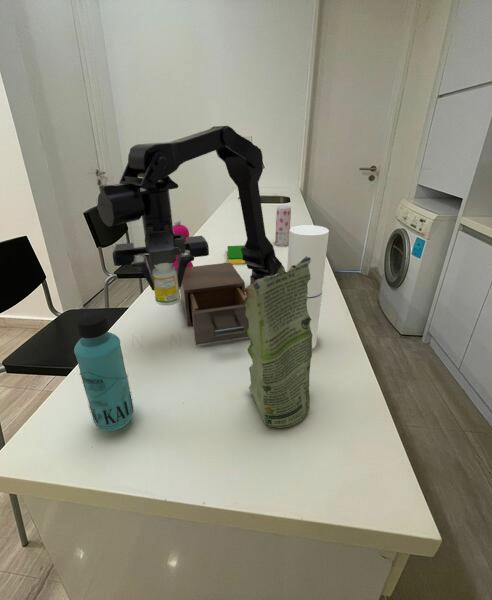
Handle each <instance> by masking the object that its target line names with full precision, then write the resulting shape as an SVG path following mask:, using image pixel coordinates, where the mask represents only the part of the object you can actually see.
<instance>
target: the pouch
mask: <svg viewBox="0 0 492 600" xmlns="http://www.w3.org/2000/svg"><path fill="white" fill-rule="evenodd" d="M310 261H311V258H310V257H309V258H308V257H307V256H306V257H305V258H304V259H302V260H301V261H300V262H299V263H298V264H297V265H293V266H291V268H290V269H289V271H288V272H287V270H286V269H285V266H284V265H283V264H282V266H281V268H280V269H279V271H278V272H277V273H276V274H275V275H274V276H264V277H263V278H260V279H257V280H255V281H254V282H253V284H251V285H250V284H249V286H247V287H245V297H246V298H245V301H244V305H245V307H246V313H245V315H246V317H247V318H248V320H249V327H248V329H247V334H248V336H249V337H248V338H249V340H250V344H249V346H248V348H247V353H248V355H249V357H250V358H251V360H252V364H251V365H250V366H249V375H250V378H249V379H250V385H249V387H248V389H249V391H250V393H251V395H252V397H253V400H254V402H255V404H256V408H257V409H258V411H259V412H260V415H261V418H262V421H263V423H264V424H265V426H266V427H267V428H277V429H283V428H287V427H290V426H295V425H296V424H298V423H300V422H301V421H302V420H304V417H306V416H307V414H308V412H309V410H310V401H311V399H310V374H311V373H310V372H311V362H312V361H311V360H312V357H313V349H312V332H311V329H310V321H311V318H310V316H309V314H308V311H307V294H308V292H307V291H308V287H307V284H308V281H309V280H310V271H309V267H308V266H309V264H310Z"/></svg>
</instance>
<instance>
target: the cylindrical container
mask: <svg viewBox="0 0 492 600" xmlns="http://www.w3.org/2000/svg"><path fill="white" fill-rule="evenodd" d="M329 235H330V230H329V228H327V227H325V226H322V225H316V224H315V225H314V224H302V225H299V224H298V225H294V226H292V227H290V230H289V244H288V246H287V247H288V249H287V266H286V272H288V271H289V269H290V268H291V266H293V265H297V264H298V263H299V262H300V261H301V260H302V259H304V258H305V257H306V256H307V257H308V258H309V257H310V258H311V261H310V264H309V266H308V267H309V271H310V280H309V281H308V284H307V287H308V291H307V292H308V294H307V311H308V314H309V316H310V318H311V321H310V329H311V332H312V350H313V349H315V348H316V346H317V340H318V331H319V322H320V313H321V306H322V305H321V303H322V298H323V297H322V296H323V295H322V294H323V285H324V279H325V269H326V260H327V251H328V242H329Z"/></svg>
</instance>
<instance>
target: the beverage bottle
mask: <svg viewBox="0 0 492 600" xmlns="http://www.w3.org/2000/svg"><path fill="white" fill-rule="evenodd" d="M75 322H76V323H75V324H76V328H77V329H76V331H77V335H78V336H79V337H80V338H79V340H78V341H77V343H76V344H75V346H74V349H73V353H74V355H75V357H76V362H77V365H78V369H79V374H78V375H79V376H80V379H81V382H82V384H83V391H84V393H85V396H86V398H87V406H88V410H89V413H90V417H91V418H92V419H91V420H92V422H93V424H94V426H95V427H97V429H99V430H101V431H104V432H112V431H113V432H114V431H117V430H120V429H122V428H123V427H125V426H126V425H128V424H129V422H130V421H132V418H133V416H134V413H135V408H134V406H135V405H134V403H133V402H134V400H133V398H132V395H133V394H132V391H131V387H130V384H131V383H130V382H129V375H128V373H127V370H126V366H125V361H124V356H123V351H122V346H121V339H120V338H119V336H118V335H116V334H115V333H113V332H110V331H109V330H110V328H111V327H110V323H109V321H108V319H107V315H106V314H105V313H104V312H101V311H92V312H87V313H85V314H82V315H81V316H79V317H78V318H77V319H76V321H75Z"/></svg>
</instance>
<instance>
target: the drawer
mask: <svg viewBox="0 0 492 600" xmlns="http://www.w3.org/2000/svg"><path fill="white" fill-rule="evenodd" d="M245 298H246V294H245V295H244V294H243V292H242V290H241V289H240V287H232V288H224V289H216V290H208V291H200V292H192V293H189V303H190V314H191V318H192V321H193V325H192V326H193V335H194V337H193V338H194V344H195V346H198V345H199V346H201V345H205V344H206V345H207V344H210V343H211V344H213V343H218V342H226V341H231V340H232V341H233V340H238V339H244V338H250V337H249V336H248V334H247V329H248V327H249V320H248V318H247V317H246V315H245V313H246V307H245V305H244V301H245Z"/></svg>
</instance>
